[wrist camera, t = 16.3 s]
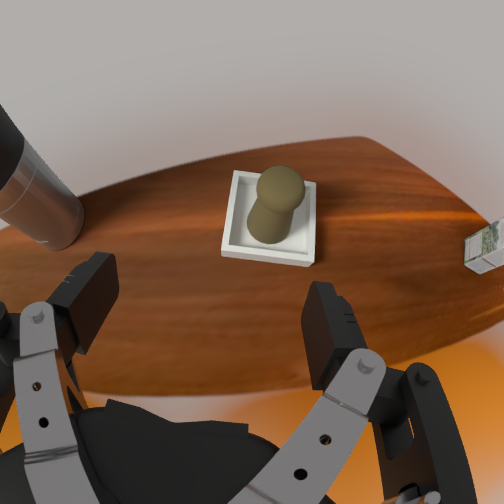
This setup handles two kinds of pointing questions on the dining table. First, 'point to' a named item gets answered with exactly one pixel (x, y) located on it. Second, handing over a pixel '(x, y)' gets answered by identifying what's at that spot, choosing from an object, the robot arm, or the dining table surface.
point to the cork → (275, 204)
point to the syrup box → (485, 248)
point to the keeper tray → (246, 247)
